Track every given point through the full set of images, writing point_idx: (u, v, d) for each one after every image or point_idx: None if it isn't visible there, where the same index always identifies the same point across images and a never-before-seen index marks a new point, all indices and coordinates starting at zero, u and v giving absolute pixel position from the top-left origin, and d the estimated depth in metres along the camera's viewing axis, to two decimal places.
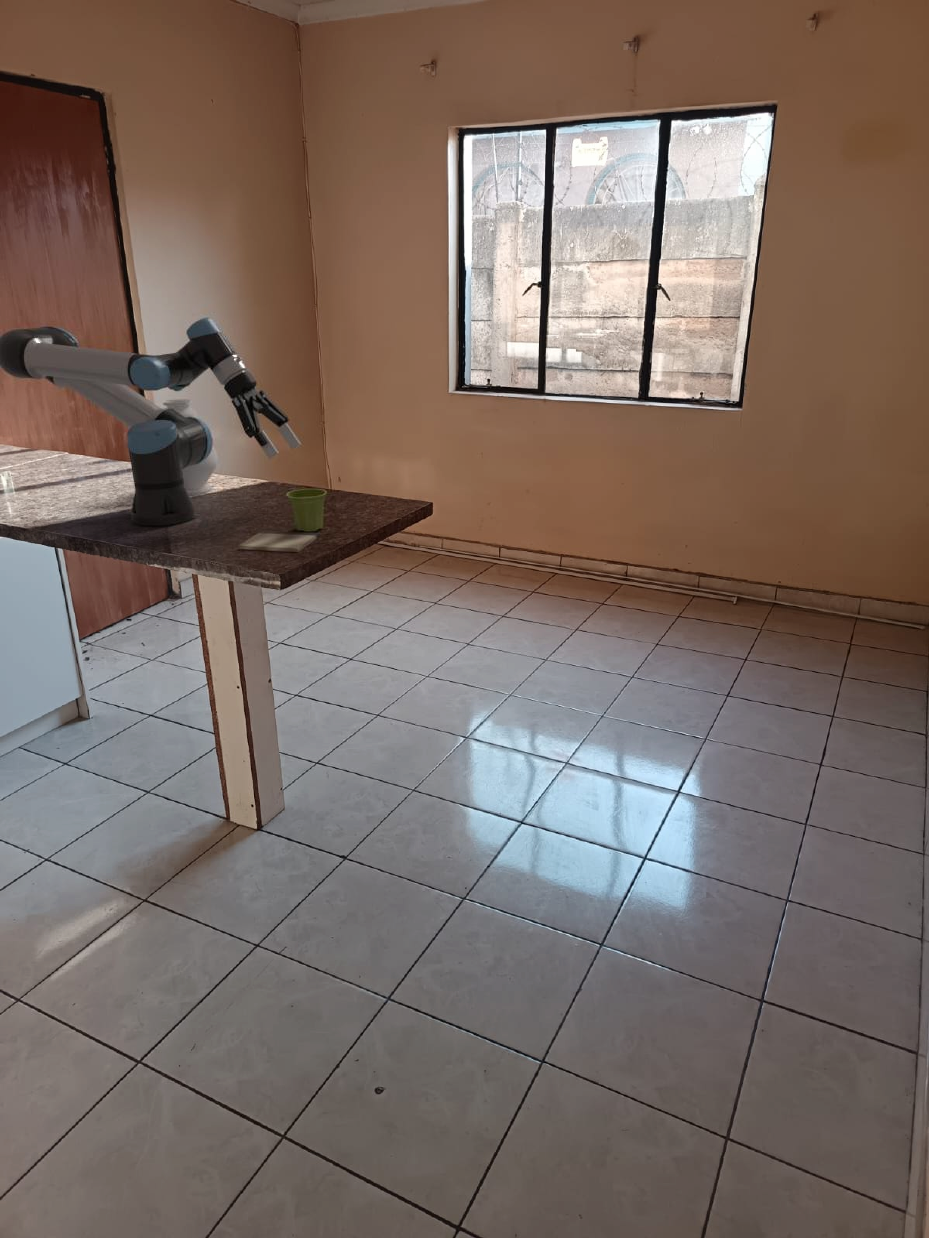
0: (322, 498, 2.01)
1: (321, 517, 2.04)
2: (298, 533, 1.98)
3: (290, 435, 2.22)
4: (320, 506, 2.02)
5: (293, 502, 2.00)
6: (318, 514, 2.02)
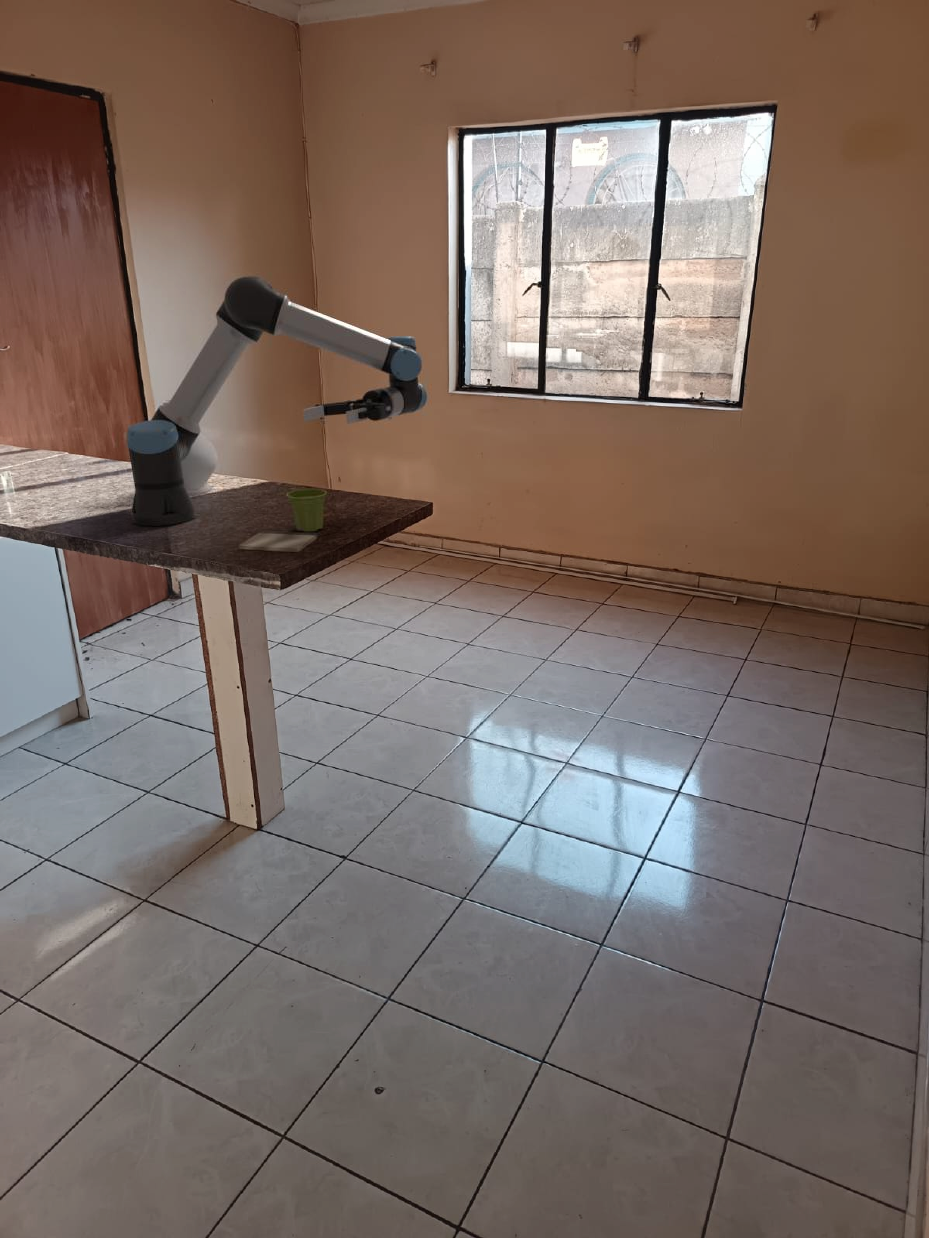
0: (322, 498, 2.01)
1: (321, 517, 2.04)
2: (298, 533, 1.98)
3: (315, 415, 2.10)
4: (320, 506, 2.02)
5: (293, 502, 2.00)
6: (318, 514, 2.02)
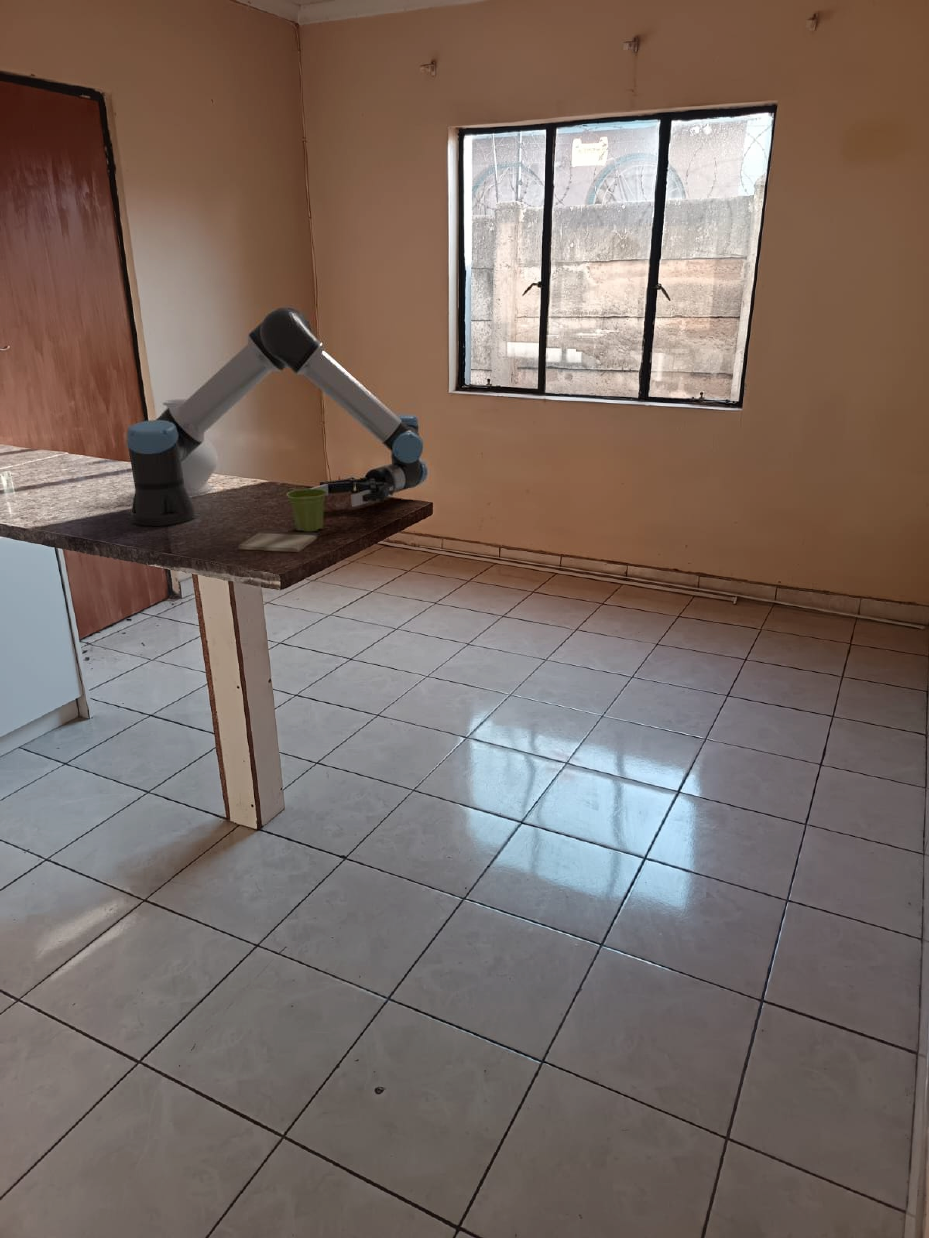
0: (322, 498, 2.01)
1: (321, 517, 2.04)
2: (298, 533, 1.98)
3: None
4: (320, 506, 2.02)
5: (293, 502, 2.00)
6: (318, 514, 2.02)
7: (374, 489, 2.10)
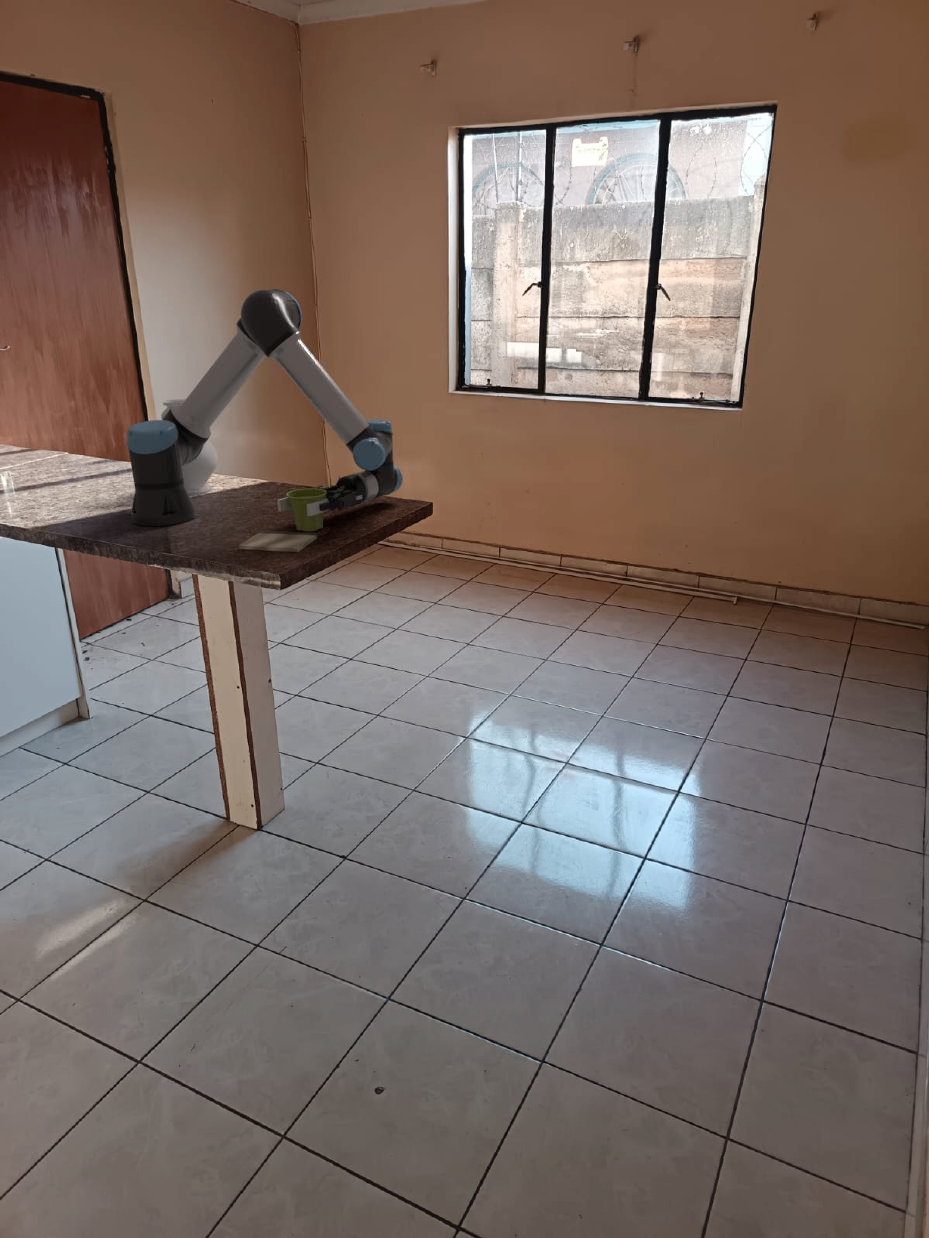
0: (322, 498, 2.01)
1: (321, 517, 2.04)
2: (298, 533, 1.98)
3: (290, 505, 2.05)
4: None
5: (293, 501, 2.00)
6: (318, 514, 2.02)
7: (331, 498, 2.01)
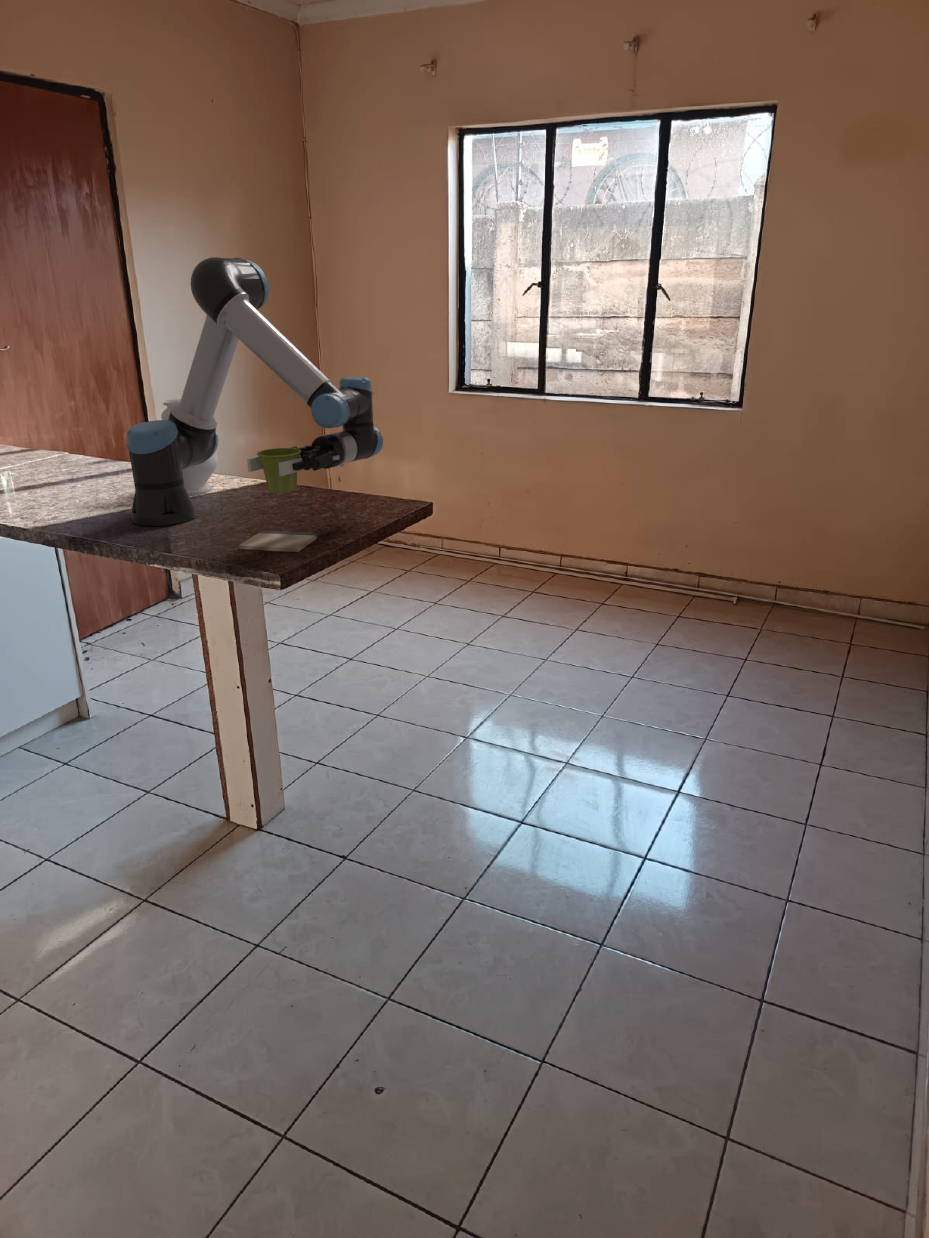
0: (296, 457, 1.86)
1: (295, 478, 1.89)
2: (298, 533, 1.98)
3: (261, 465, 1.90)
4: None
5: (265, 460, 1.85)
6: (291, 474, 1.87)
7: (305, 457, 1.87)
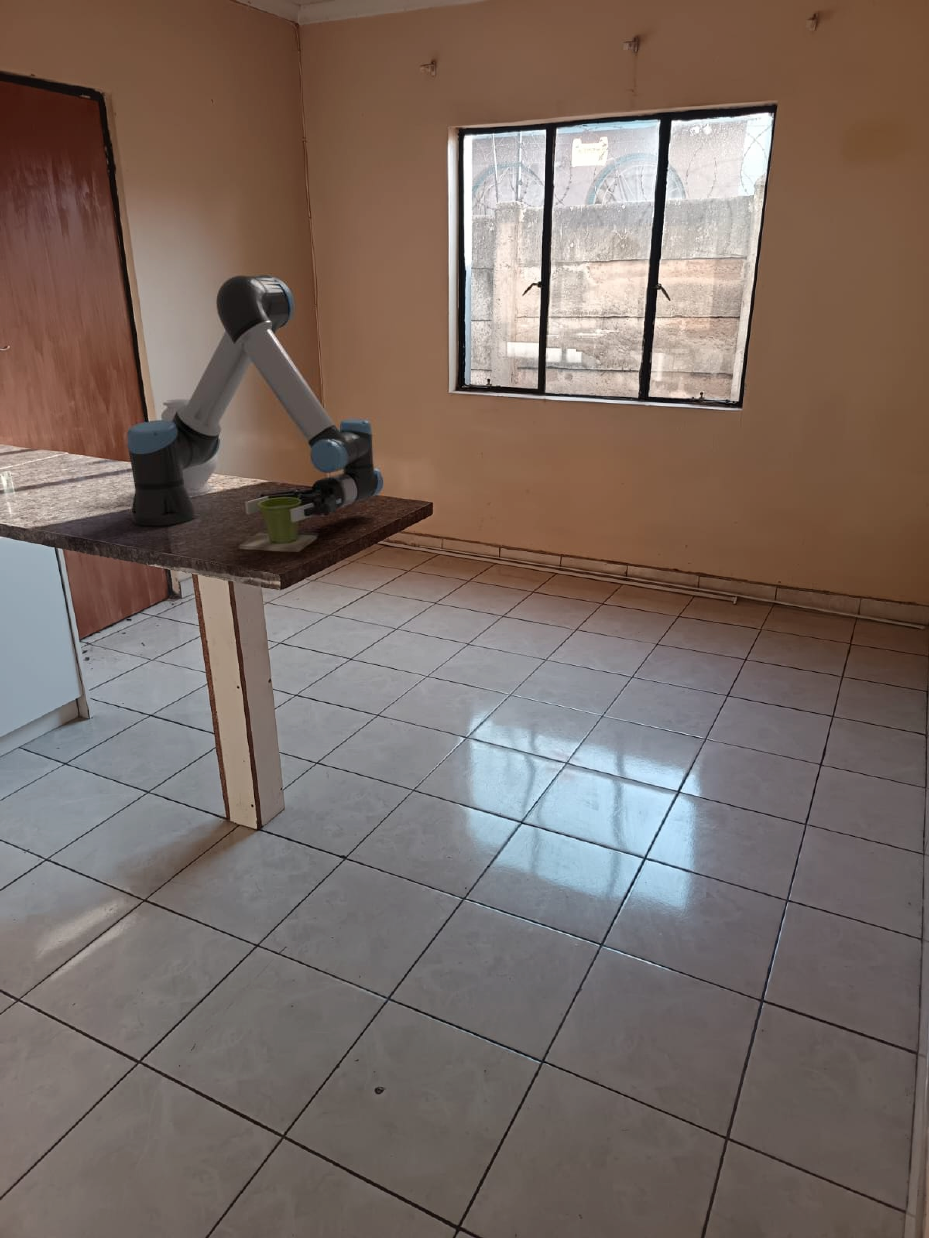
0: (296, 507, 1.90)
1: (295, 527, 1.92)
2: (298, 533, 1.98)
3: (258, 508, 1.95)
4: None
5: (265, 511, 1.88)
6: (292, 524, 1.90)
7: (317, 502, 1.89)
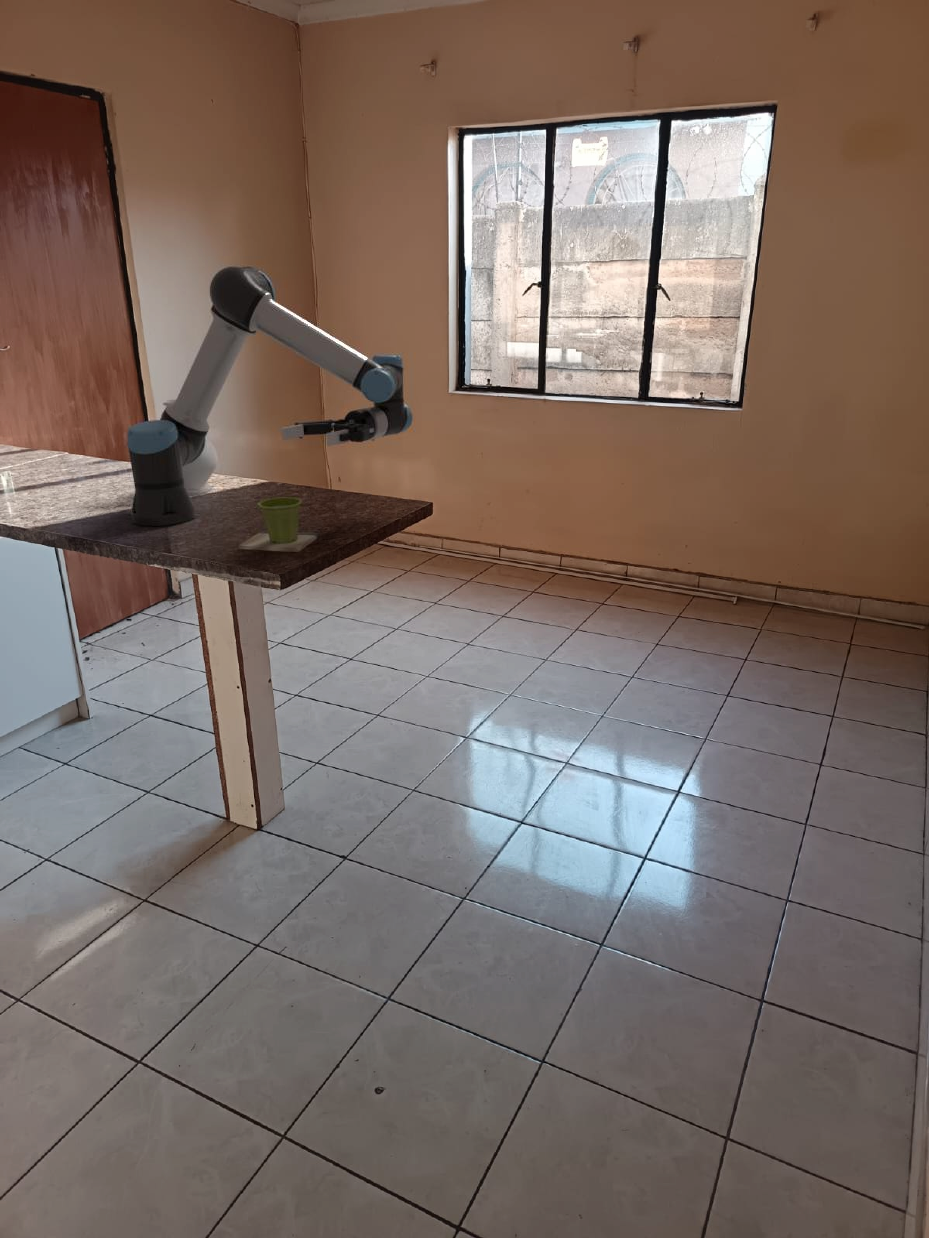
0: (296, 508, 1.90)
1: (295, 528, 1.92)
2: (298, 533, 1.98)
3: (294, 435, 1.99)
4: (294, 515, 1.90)
5: (266, 511, 1.88)
6: (292, 524, 1.91)
7: (352, 428, 1.94)
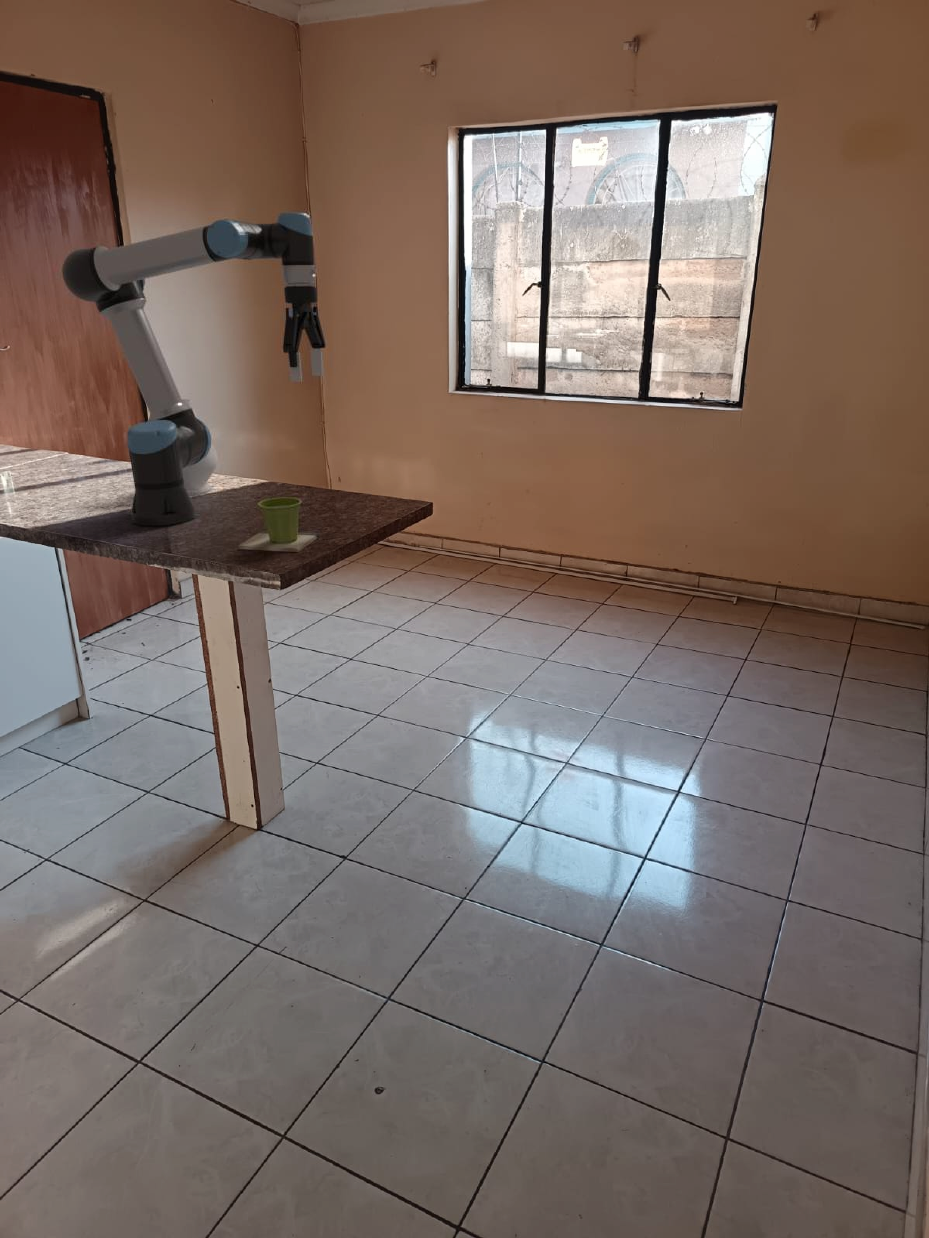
0: (296, 507, 1.90)
1: (295, 528, 1.92)
2: (298, 533, 1.98)
3: (318, 362, 2.16)
4: (294, 515, 1.90)
5: (266, 511, 1.88)
6: (292, 524, 1.91)
7: (285, 351, 2.02)
